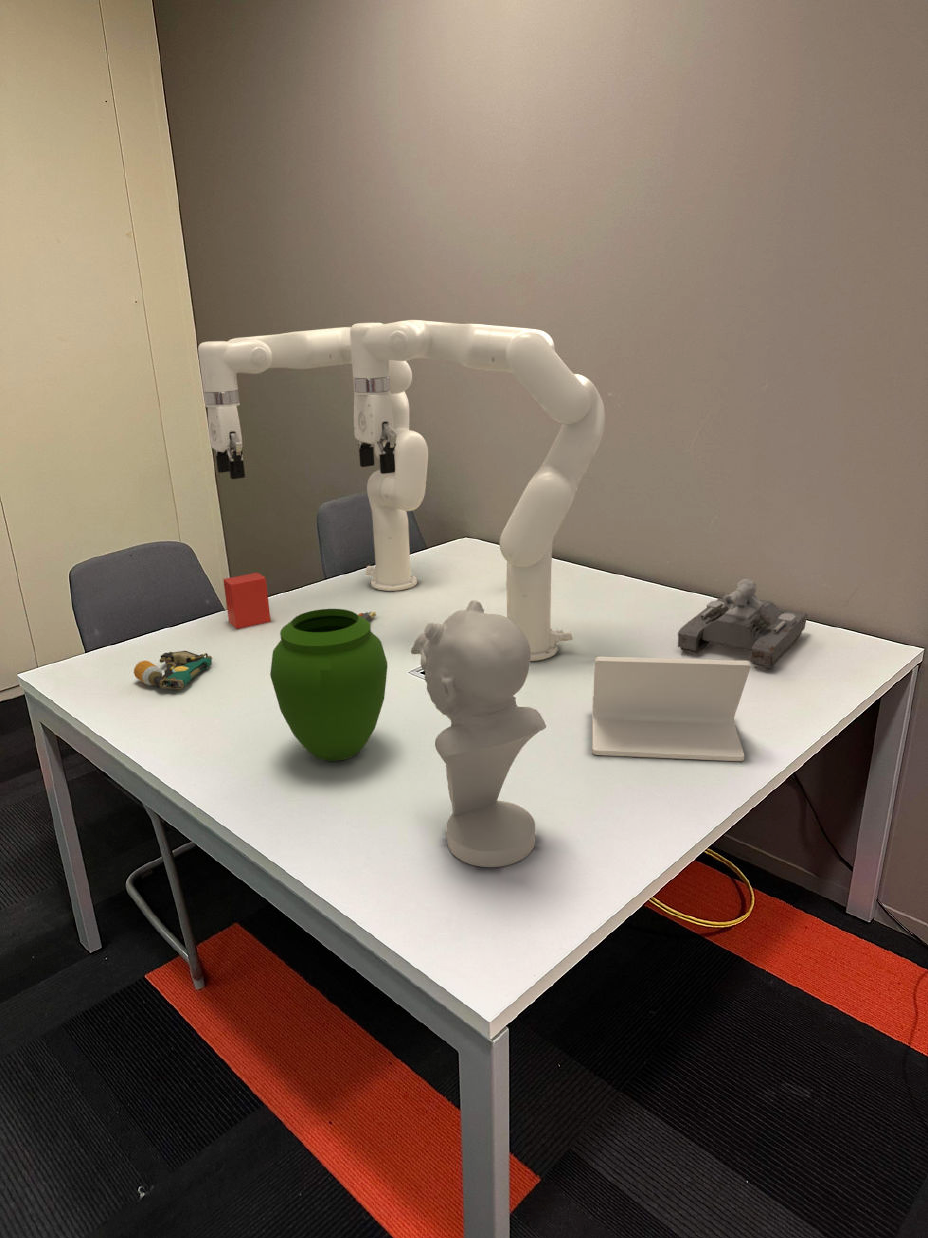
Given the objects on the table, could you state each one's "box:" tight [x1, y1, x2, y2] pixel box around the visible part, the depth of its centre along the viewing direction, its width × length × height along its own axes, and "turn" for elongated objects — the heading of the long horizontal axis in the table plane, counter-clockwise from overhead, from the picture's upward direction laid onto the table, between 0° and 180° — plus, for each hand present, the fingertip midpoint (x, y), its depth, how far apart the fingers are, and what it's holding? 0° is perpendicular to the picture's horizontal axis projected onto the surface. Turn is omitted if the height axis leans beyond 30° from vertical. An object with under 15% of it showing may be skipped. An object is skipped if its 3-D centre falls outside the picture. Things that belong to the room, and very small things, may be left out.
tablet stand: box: [591, 656, 752, 762], centre depth 148 cm, size 18×25×17 cm
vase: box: [269, 608, 388, 762], centre depth 144 cm, size 20×20×24 cm
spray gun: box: [133, 650, 213, 690], centre depth 180 cm, size 4×17×15 cm
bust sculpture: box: [410, 599, 547, 868], centre depth 121 cm, size 16×24×35 cm
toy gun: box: [357, 611, 377, 622], centre depth 203 cm, size 3×19×10 cm
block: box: [222, 572, 272, 630], centre depth 208 cm, size 6×9×11 cm, turn 122°
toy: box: [677, 578, 808, 669], centre depth 186 cm, size 25×20×15 cm
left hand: (231, 475), depth 197 cm, fingers open, 9 cm apart
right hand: (377, 469), depth 181 cm, fingers open, 9 cm apart
